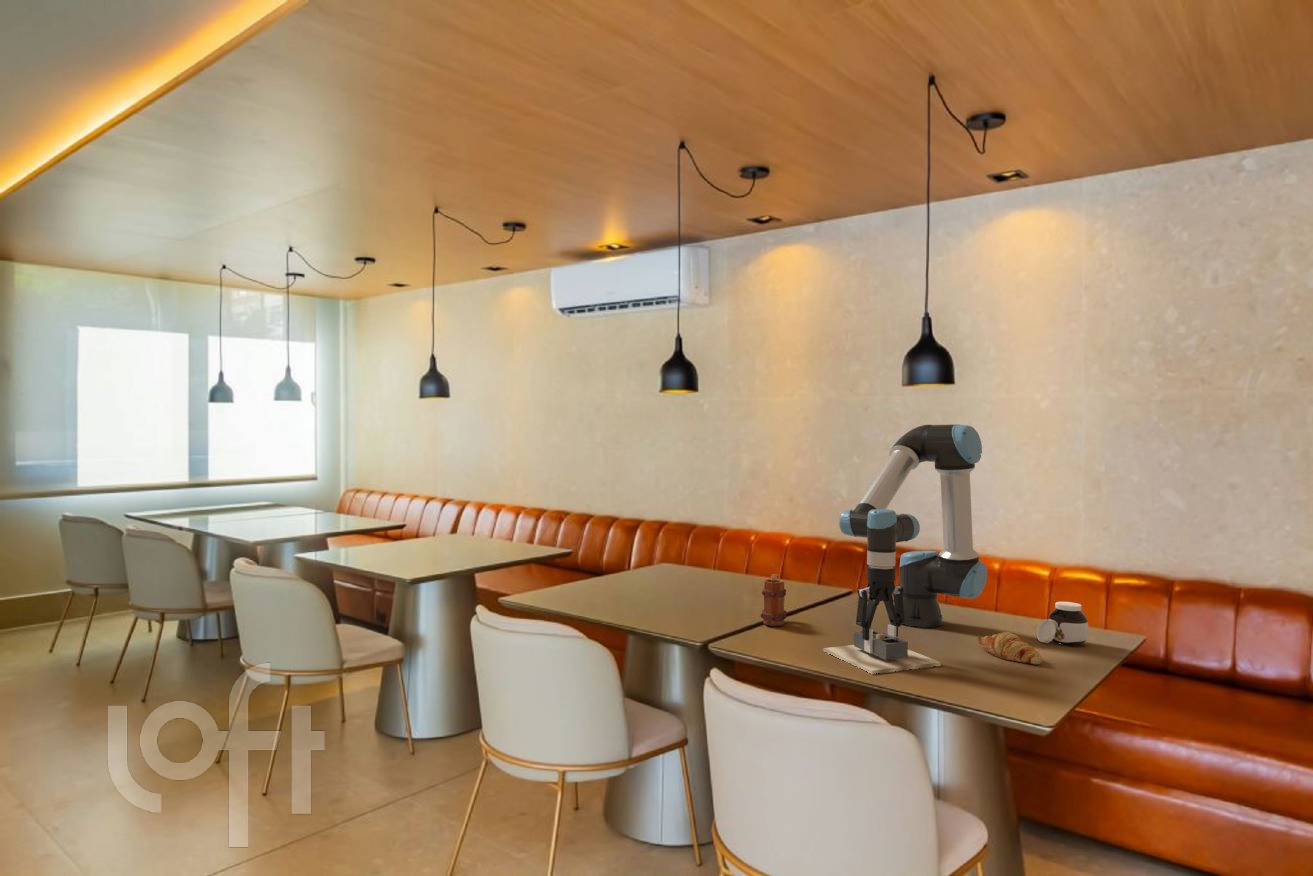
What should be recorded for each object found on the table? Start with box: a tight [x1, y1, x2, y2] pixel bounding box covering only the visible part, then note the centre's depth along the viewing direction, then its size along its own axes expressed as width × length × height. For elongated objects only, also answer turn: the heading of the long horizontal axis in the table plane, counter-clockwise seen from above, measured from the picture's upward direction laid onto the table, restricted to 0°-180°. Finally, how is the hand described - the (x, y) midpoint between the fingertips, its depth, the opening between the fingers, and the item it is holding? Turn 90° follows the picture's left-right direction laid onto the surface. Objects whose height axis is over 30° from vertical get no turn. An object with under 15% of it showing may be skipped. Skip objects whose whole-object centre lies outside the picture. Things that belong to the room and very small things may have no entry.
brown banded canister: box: [760, 573, 788, 627], centre depth 254 cm, size 15×8×15 cm, turn 168°
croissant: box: [977, 630, 1043, 665], centre depth 218 cm, size 21×10×8 cm, turn 25°
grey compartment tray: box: [853, 629, 909, 660], centre depth 214 cm, size 14×7×4 cm, turn 22°
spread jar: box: [1035, 601, 1089, 647], centre depth 232 cm, size 12×11×12 cm
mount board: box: [822, 634, 941, 675], centre depth 214 cm, size 22×22×6 cm
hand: (880, 650), depth 214 cm, fingers closed on grey compartment tray, 7 cm apart
